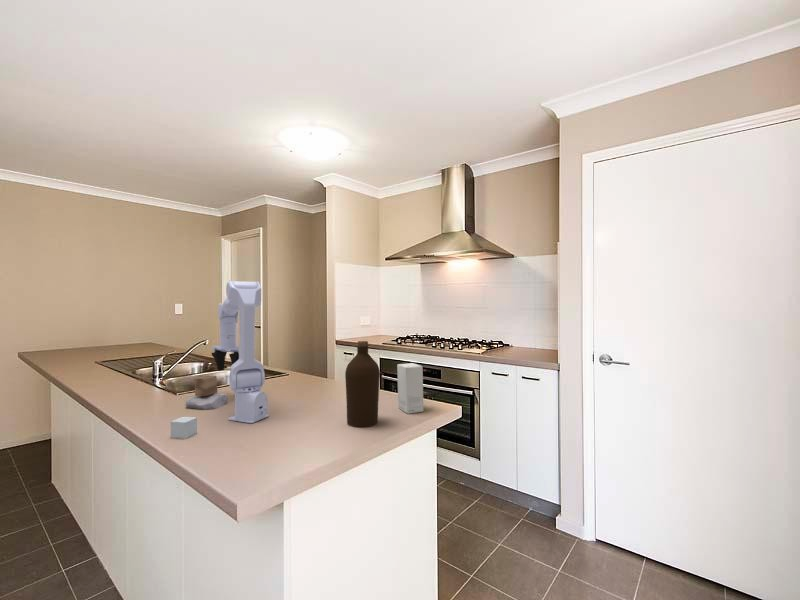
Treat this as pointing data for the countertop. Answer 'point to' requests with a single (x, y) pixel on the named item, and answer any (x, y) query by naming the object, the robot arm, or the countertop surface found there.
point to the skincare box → (410, 388)
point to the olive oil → (362, 388)
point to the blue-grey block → (183, 427)
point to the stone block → (207, 401)
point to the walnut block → (205, 385)
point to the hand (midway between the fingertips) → (228, 371)
